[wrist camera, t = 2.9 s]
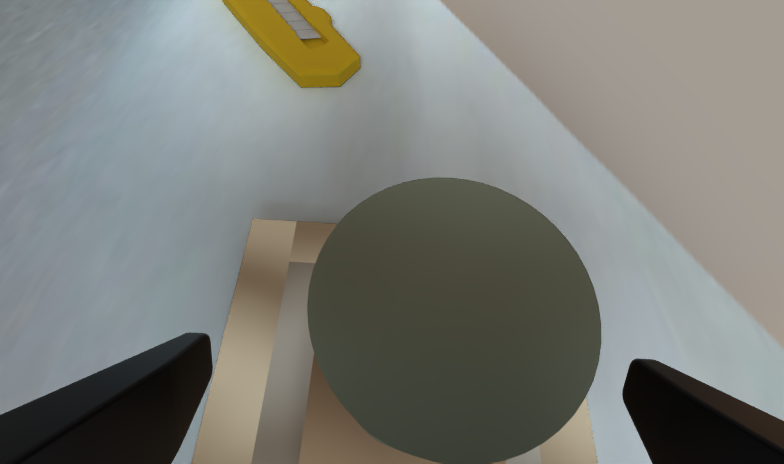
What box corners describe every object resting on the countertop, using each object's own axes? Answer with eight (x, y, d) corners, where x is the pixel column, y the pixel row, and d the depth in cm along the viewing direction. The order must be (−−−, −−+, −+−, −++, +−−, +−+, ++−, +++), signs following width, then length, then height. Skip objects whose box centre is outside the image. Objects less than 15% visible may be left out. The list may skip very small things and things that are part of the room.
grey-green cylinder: (488, 530, 13) (861, 821, 3) (303, 521, 13) (67, 786, 3) (475, 294, 16) (620, 85, 7) (333, 286, 16) (273, 62, 7)
